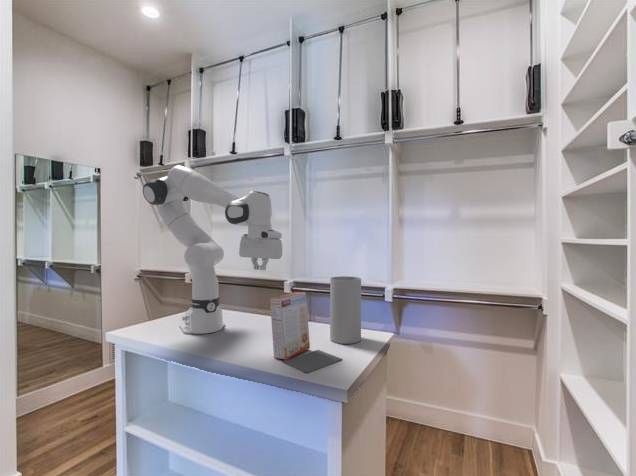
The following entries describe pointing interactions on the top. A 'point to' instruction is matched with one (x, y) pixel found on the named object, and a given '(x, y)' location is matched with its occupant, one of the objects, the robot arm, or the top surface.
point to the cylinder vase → (345, 309)
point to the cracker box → (289, 324)
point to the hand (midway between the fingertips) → (259, 269)
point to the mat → (312, 361)
